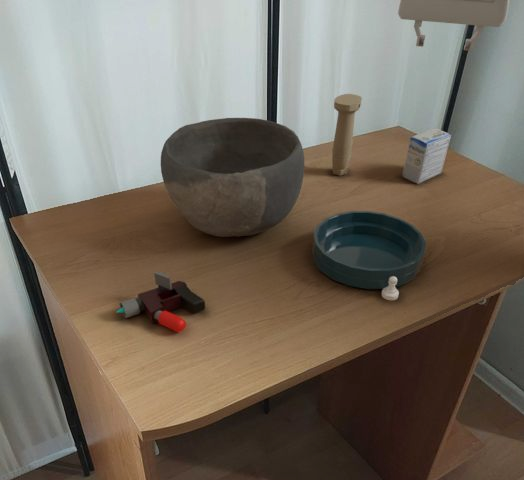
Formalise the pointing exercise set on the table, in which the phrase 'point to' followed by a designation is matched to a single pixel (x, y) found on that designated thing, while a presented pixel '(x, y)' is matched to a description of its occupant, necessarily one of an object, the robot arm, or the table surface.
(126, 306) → the toy gun
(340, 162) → the handle
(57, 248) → the table surface
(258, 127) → the bowl
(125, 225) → the table surface
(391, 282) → the chess pawn
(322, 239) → the teal bowl
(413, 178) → the medicine box
